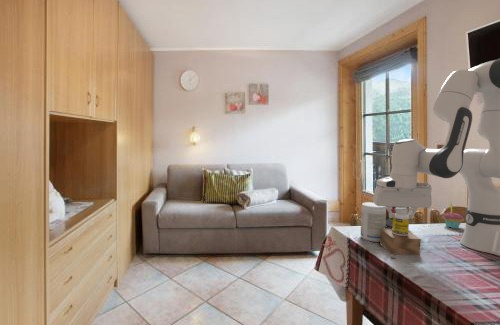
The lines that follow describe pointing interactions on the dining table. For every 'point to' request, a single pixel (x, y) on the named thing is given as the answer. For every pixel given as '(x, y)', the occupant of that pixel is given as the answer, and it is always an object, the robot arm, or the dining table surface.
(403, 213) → the supplement bottle
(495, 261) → the dining table surface
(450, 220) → the cupcake
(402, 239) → the walnut block
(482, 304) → the dining table surface
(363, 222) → the supplement tub
